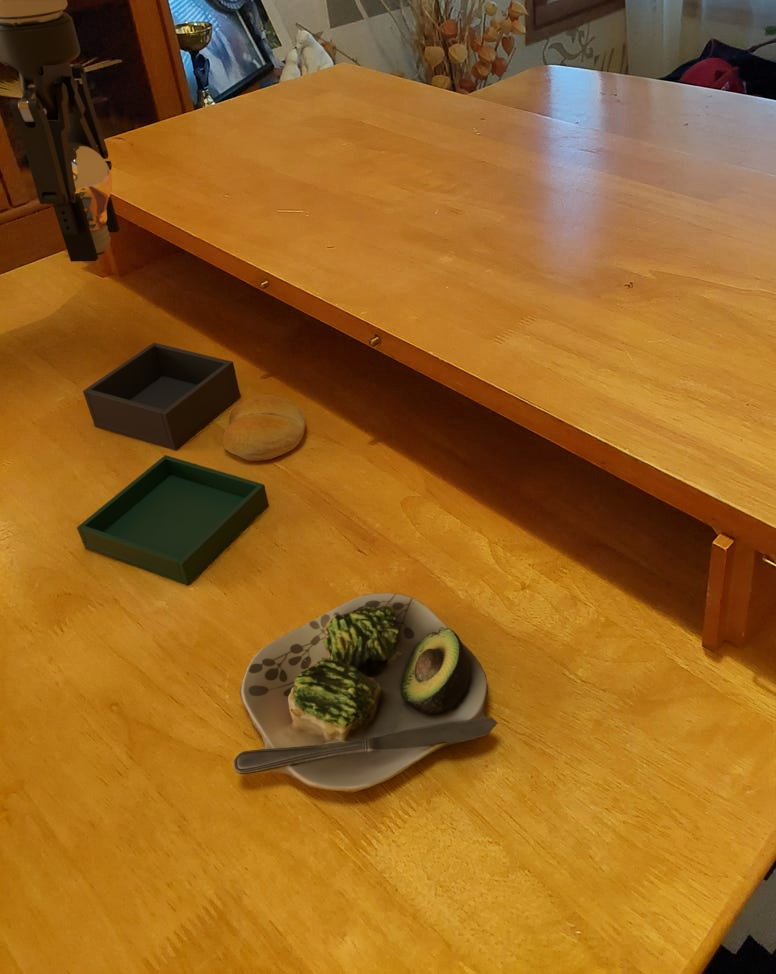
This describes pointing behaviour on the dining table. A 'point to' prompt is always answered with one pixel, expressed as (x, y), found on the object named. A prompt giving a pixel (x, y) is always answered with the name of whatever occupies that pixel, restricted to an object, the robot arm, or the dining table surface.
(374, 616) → the avocado toast plate
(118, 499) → the tray
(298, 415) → the bread roll
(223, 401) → the bin
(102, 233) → the light bulb
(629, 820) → the dining table surface
